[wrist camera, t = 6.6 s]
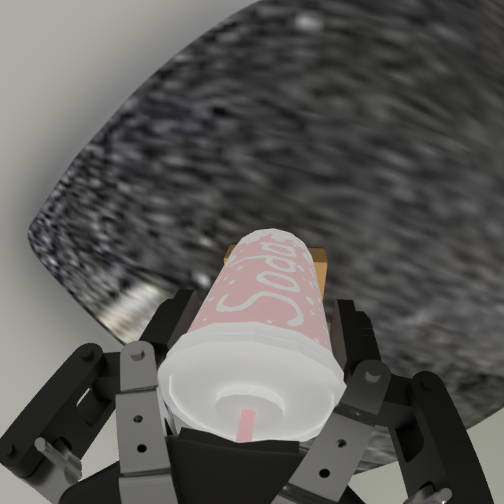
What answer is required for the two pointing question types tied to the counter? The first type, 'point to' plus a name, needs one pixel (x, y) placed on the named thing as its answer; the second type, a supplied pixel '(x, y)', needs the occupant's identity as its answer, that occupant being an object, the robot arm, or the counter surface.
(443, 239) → the counter surface
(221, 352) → the beverage cup
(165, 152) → the counter surface
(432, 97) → the counter surface
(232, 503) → the robot arm
